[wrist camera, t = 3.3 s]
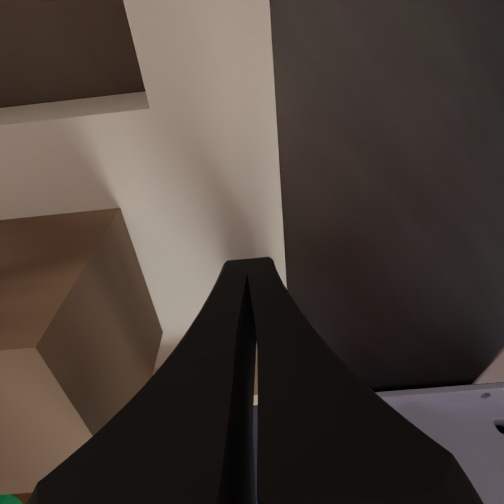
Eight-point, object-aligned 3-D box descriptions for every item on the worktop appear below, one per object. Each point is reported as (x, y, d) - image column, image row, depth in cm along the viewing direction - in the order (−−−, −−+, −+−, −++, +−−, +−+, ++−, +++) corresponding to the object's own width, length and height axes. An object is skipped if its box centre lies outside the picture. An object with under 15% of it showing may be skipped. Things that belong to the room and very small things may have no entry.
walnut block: (120, 207, 10) (34, 347, 6) (162, 332, 13) (125, 485, 9) (-52, 225, 10) (-250, 372, 6) (27, 344, 13) (-73, 499, 9)
